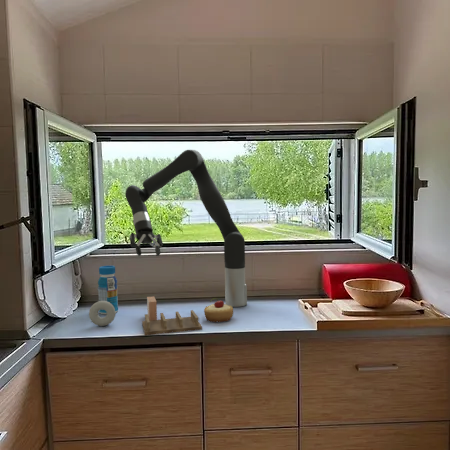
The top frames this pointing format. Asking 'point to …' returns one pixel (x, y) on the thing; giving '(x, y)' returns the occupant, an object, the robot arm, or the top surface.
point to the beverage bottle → (108, 287)
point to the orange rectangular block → (152, 308)
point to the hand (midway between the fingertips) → (149, 255)
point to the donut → (102, 320)
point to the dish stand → (171, 324)
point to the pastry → (218, 312)
